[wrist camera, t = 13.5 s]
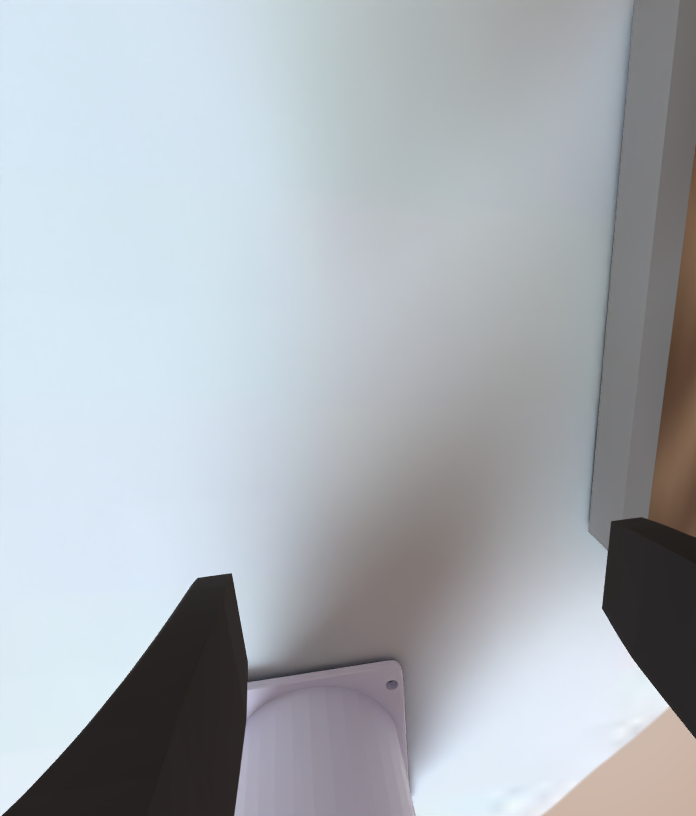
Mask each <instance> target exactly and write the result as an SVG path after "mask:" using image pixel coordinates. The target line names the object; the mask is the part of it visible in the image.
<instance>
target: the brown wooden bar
mask: <svg viewBox="0 0 696 816" xmlns="http://www.w3.org/2000/svg"><path fill="white" fill-rule="evenodd" d="M648 519H649V520H652V521H655V522H658V523H660V524H663V525H666V526H668V527H671V528H673V529H676V530H678V531H681V532H683V533H686V534H688V535H691V536H693V537H695V538H696V147H695V154H694V162H693V170H692V178H691V186H690V194H689V201H688V209H687V217H686V225H685V233H684V241H683V248H682V256H681V264H680V272H679V280H678V288H677V295H676V303H675V311H674V319H673V327H672V335H671V342H670V350H669V358H668V366H667V374H666V382H665V389H664V397H663V405H662V413H661V421H660V429H659V436H658V444H657V452H656V460H655V468H654V476H653V483H652V491H651V499H650V507H649V515H648Z"/></svg>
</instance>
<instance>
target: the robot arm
mask: <svg viewBox="0 0 696 816" xmlns="http://www.w3.org/2000/svg"><path fill="white" fill-rule="evenodd" d="M602 609H603V611H604V613H605V614H606V616H607V618H608V619H609V621H610V623H611V625H612V626H613V628H614V630H615V631H616V633H617V635H618V636H619V638H620V640H621V641H622V643H623V644H624V646H625V647H626V649H627V651H628V652H629V654H630V655H631V657H632V658H633V660H634V661H635V662H636V664H637V665H638V666H639V668H640V669H641V670H642V672H643V673H644V674H645V675H646V677H647V678H648V679H649V680H650V682H651V683H652V684H653V686H654V687H655V688H656V689H657V691H658V692H659V693H660V695H661V696H662V697H663V698H664V700H665V701H666V702H667V703H668V705H669V706H670V707H671V708H672V710H673V711H674V712H675V713H676V714H677V716H678V717H679V718H680V719H681V721H682V722H683V723H684V724H685V726H686V727H687V728H688V730H689V731H690V732H691V733H692V735H693V736H694V737H695V738H696V538H695V537H693V536H691V535H688V534H686V533H683V532H681V531H678V530H676V529H673V528H671V527H668V526H666V525H663V524H660V523H658V522H655V521H652V520H649V519H646V518H643V517H638V518H631V519H623V520H616V521H611V527H610V537H609V546H608V556H607V566H606V576H605V585H604V595H603V605H602ZM247 679H248V661H247V655H246V650H245V644H244V639H243V633H242V628H241V622H240V616H239V611H238V605H237V600H236V594H235V589H234V583H233V578H232V573H230V574H223V575H216V576H208V577H201V578H197V579H196V580H195V582H194V583H193V584H192V585H191V587H190V588H189V590H188V591H187V593H186V594H185V596H184V597H183V599H182V600H181V602H180V603H179V605H178V606H177V607H176V609H175V610H174V612H173V613H172V615H171V616H170V618H169V619H168V621H167V622H166V623H165V625H164V626H163V628H162V629H161V631H160V632H159V633H158V635H157V636H156V638H155V639H154V640H153V642H152V643H151V644H150V646H149V647H148V649H147V650H146V651H145V653H144V654H143V655H142V657H141V658H140V659H139V661H138V662H137V663H136V665H135V666H134V667H133V669H132V670H131V671H130V673H129V674H128V675H127V677H126V678H125V679H124V681H123V682H122V683H121V684H120V685H119V687H118V688H117V689H116V690H115V692H114V693H113V694H112V695H111V697H110V698H109V699H108V700H107V701H106V703H105V704H104V705H103V706H102V708H101V709H100V710H99V711H98V713H97V714H96V715H95V716H94V717H93V719H92V720H91V721H90V722H89V724H88V725H87V726H86V727H85V728H84V729H83V730H82V732H81V733H80V734H79V735H78V736H77V737H76V739H75V740H74V741H73V742H72V743H71V744H70V745H69V746H68V748H67V749H66V750H65V751H64V752H63V753H62V754H61V755H60V756H59V758H58V759H57V760H56V761H55V762H54V763H53V764H52V765H51V766H50V767H49V768H48V769H47V770H46V772H45V773H44V774H43V775H42V776H41V777H40V778H39V779H38V780H37V781H36V782H35V783H34V784H33V785H32V786H31V787H30V789H29V790H28V791H27V792H26V793H25V794H24V795H23V796H22V797H21V798H20V799H19V800H18V801H17V802H16V803H15V804H13V805H12V806H11V807H10V808H9V809H8V810H7V811H6V812H5V813H4V814H3V815H2V816H416V815H415V810H414V806H413V802H412V797H411V793H410V788H409V777H408V759H407V740H406V722H405V704H404V686H403V672H402V668H401V665H400V664H399V663H398V662H397V661H394V660H388V661H382V662H375V663H369V664H362V665H356V666H350V667H343V668H337V669H330V670H324V671H317V672H311V673H304V674H298V675H292V676H285V677H279V678H272V679H266V680H259V681H253V682H247ZM391 680H394V681H393V682H388V681H391Z"/></svg>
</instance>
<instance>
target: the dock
mask: <svg viewBox="0 0 696 816" xmlns="http://www.w3.org/2000/svg"><path fill="white" fill-rule="evenodd" d="M695 147H696V0H636V1H634V11H633V23H632V34H631V46H630V58H629V69H628V81H627V92H626V104H625V115H624V127H623V138H622V150H621V161H620V173H619V184H618V196H617V208H616V219H615V231H614V242H613V254H612V265H611V277H610V288H609V300H608V311H607V323H606V334H605V346H604V357H603V369H602V381H601V392H600V404H599V415H598V427H597V438H596V450H595V461H594V473H593V484H592V496H591V507H590V519H589V531H588V532H589V533H590V534H591V535H592V536H593V537H594V538H596V539H597V540H598V541H599V542H600V543H601V544H602V545H603V546H604V547H605V548H606V549H607V550H608V546H609V537H610V527H611V521H616V520H623V519H631V518H638V517H643V518H646V519H648V515H649V507H650V499H651V491H652V483H653V476H654V468H655V460H656V452H657V444H658V436H659V429H660V421H661V413H662V405H663V397H664V389H665V382H666V374H667V366H668V358H669V350H670V342H671V335H672V327H673V319H674V311H675V303H676V295H677V288H678V280H679V272H680V264H681V256H682V248H683V241H684V233H685V225H686V217H687V209H688V201H689V194H690V186H691V178H692V170H693V162H694V154H695Z"/></svg>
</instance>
